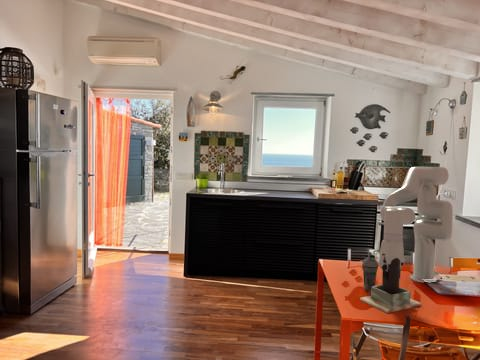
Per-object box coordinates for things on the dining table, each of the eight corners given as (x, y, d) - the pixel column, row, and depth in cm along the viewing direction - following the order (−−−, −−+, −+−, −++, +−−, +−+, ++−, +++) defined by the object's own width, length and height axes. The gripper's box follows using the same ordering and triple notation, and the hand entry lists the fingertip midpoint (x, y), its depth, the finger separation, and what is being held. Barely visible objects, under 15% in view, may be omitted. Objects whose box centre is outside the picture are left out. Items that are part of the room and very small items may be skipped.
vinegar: (385, 289, 163) (387, 245, 162) (401, 293, 159) (403, 248, 158) (379, 293, 159) (380, 247, 158) (394, 297, 154) (396, 250, 153)
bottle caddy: (392, 293, 170) (393, 280, 170) (421, 305, 157) (421, 291, 156) (360, 299, 161) (360, 286, 161) (387, 313, 148) (387, 298, 148)
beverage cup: (378, 292, 171) (380, 250, 170) (362, 291, 172) (363, 249, 171) (375, 287, 178) (377, 246, 177) (360, 286, 179) (361, 245, 178)
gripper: (399, 234, 165) (398, 273, 166) (371, 237, 157) (369, 278, 158) (414, 237, 158) (412, 278, 159) (385, 240, 150) (383, 283, 151)
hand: (391, 278), depth 158 cm, fingers closed on vinegar, 5 cm apart
